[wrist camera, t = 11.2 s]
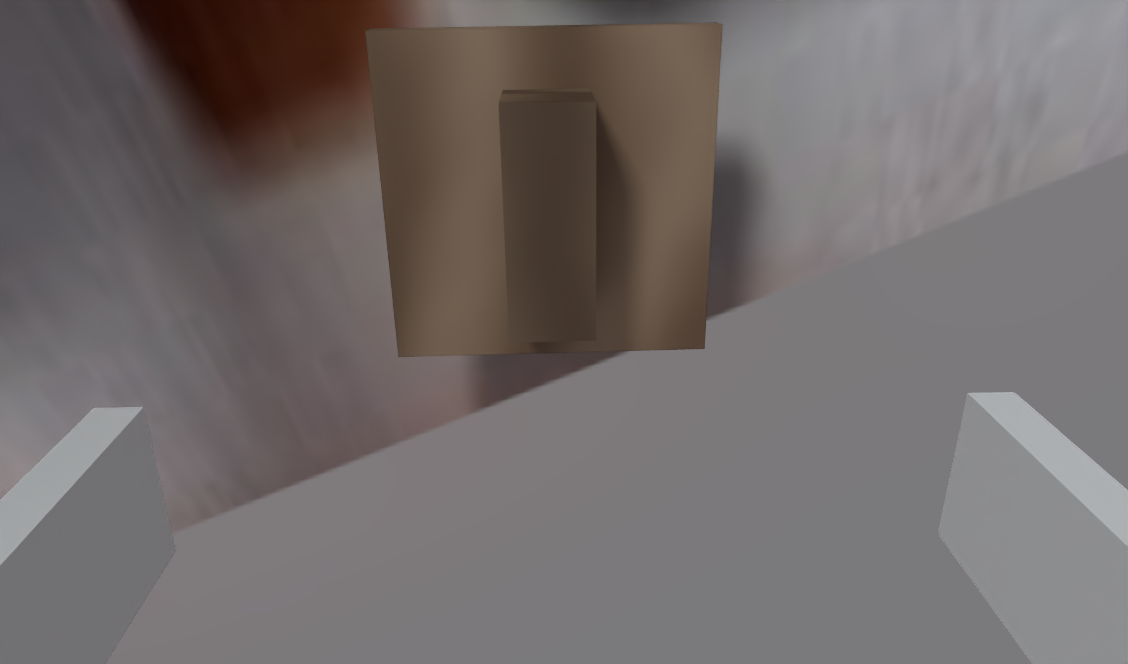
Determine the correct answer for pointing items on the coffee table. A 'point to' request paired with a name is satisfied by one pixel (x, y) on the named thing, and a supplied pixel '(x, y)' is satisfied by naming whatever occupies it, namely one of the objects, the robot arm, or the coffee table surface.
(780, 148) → the coffee table surface
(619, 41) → the walnut lid
